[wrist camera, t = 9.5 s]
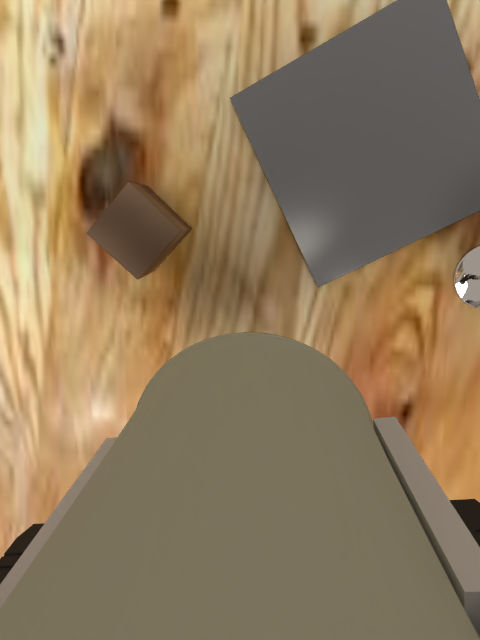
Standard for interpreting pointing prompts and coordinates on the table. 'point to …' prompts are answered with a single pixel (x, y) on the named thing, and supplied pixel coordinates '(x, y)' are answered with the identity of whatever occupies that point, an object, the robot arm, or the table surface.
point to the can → (240, 516)
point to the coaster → (370, 137)
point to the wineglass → (469, 278)
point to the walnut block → (139, 229)
